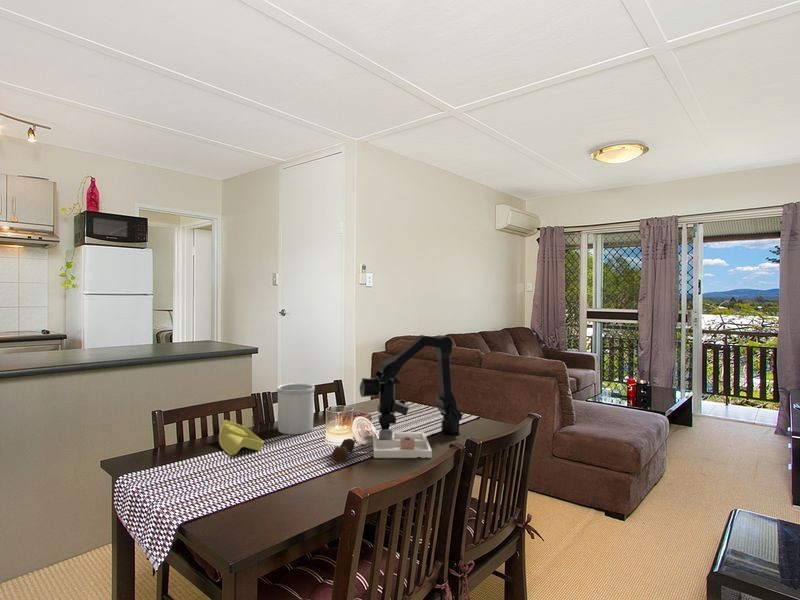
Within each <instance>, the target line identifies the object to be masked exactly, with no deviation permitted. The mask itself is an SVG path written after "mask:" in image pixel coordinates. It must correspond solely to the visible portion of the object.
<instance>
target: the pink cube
mask: <svg viewBox="0 0 800 600" xmlns="http://www.w3.org/2000/svg"><path fill="white" fill-rule="evenodd" d="M414 441H415V439H414V438H411V437H402V438H401V440H400V450H414Z"/></svg>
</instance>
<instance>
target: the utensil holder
mask: <svg viewBox="0 0 800 600" xmlns="http://www.w3.org/2000/svg"><path fill="white" fill-rule="evenodd" d="M315 388H316V387H315V384H312V383H307V382H306V383H305V382H292V383H291V382H290V383H284V384H281V385H278V386H277V387H276V391H277V431H278V432H279V433H281V434H285V435H302V434H306V433H310V432H311V431H313V429H314V402H315V401H314V400H315V390H316V389H315Z"/></svg>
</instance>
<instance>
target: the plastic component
mask: <svg viewBox="0 0 800 600" xmlns="http://www.w3.org/2000/svg"><path fill="white" fill-rule="evenodd" d="M218 434H219V435H218V443H219V446H220V448H221V449H222V450H224V452H226V454H227V455H228V456H233V457H234V456H235V455H237V454H238V452H239V451H240V450H241V449H242V448H247V449H250V450H254V451H261V450H262V448H263V445H264V443H265V441H264V440H263V439H261V438H260V437H259V436H258V435H256V434H255V433H254V432H253V431H252V430H250V429H249V428H247V427H245V425H244V426H243V425H242V424H239V423H236V422H234V421H230V420H227V419H224V420H222V423H221V425H220V429H219V433H218Z"/></svg>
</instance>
